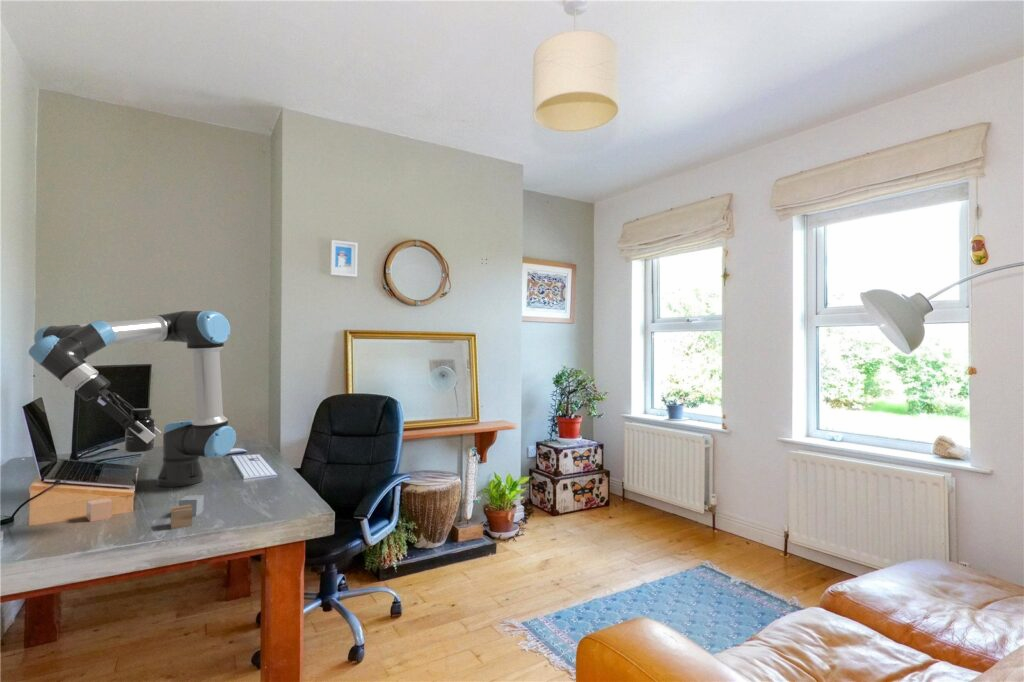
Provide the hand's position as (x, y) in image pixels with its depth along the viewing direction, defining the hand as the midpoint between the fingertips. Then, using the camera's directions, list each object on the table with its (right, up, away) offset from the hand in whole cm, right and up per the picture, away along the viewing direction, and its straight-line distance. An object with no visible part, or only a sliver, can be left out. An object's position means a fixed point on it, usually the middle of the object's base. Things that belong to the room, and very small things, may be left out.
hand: (154, 437), depth 152 cm
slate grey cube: (+6, -25, +7) cm, 27 cm away
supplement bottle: (-3, -4, -2) cm, 5 cm away
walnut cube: (+10, -25, -3) cm, 27 cm away
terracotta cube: (-17, -24, +2) cm, 30 cm away
